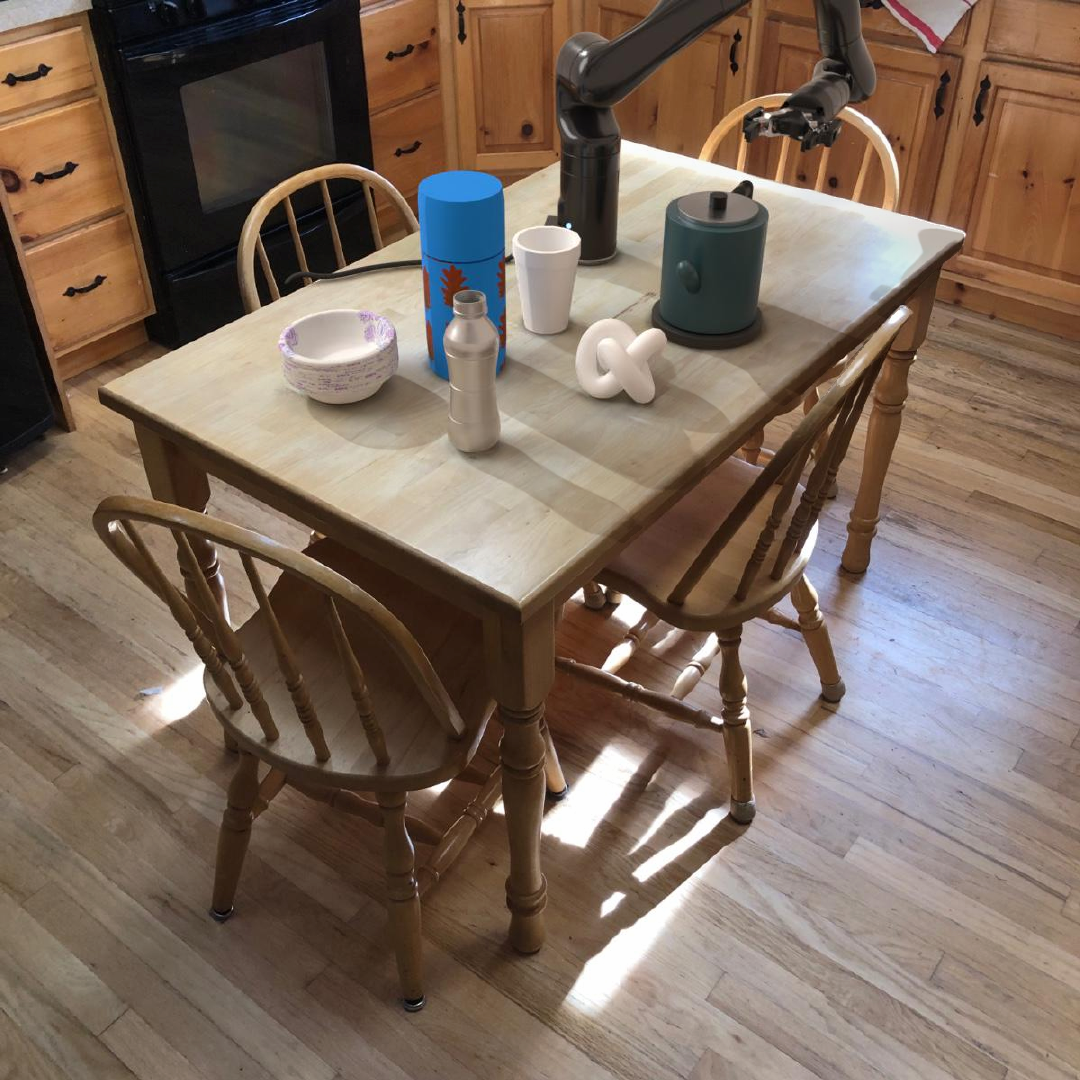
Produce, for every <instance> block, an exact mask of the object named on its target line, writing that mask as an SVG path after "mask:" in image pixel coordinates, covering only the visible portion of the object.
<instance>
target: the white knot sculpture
mask: <svg viewBox="0 0 1080 1080" xmlns="http://www.w3.org/2000/svg"><path fill="white" fill-rule="evenodd" d="M667 341H668V340H667V339H666V336H665V333H664V332H663V331H661V330H660V329H656V328H653V327H652V328H649V329H647V330H645V331H643V332H641V333H640V334H639V335H638V336H637V334H636V333H635V331H634V330H633V329H632V328H631V327H630V326H629V325H628V324H627V323H625V322H624V321H622V320H619V319H616V318H604V319H600V320H598V321H596V322H595V323H593V324H592V325H590V326H589V327H588V328H587V329H586V331H585V332H584V334H583V335H582V337H581V339H580V341H579V343H578V344H577V345H578V346H577V349H576V353H575V372H576V378H577V381H578V383H579V385H580V387H581V388H582V389H583V391H584V392H585V393H586V394H587V395H589V396H591V397H593V398H597V399H609V398H613V397H615V396H617V395H618V394H619V393H621V392H622V391H625V392H626V394H628V396H629V397H630V398H631V399H632V400H633V401H634V402H635V403H638V404H643V405H644V404H647V403H650V402H652V401H653V399H654V398H655V393H656V386H655V382H654V377H653V375H652V373H651V370H650V368H649V367H650V366H652V364H653V363H655V361H657V359H659V357H660V356H661V355H662V353H664V350H665V349H666V346H667ZM598 364H599V367H600V369H601V371H602V372H603V374H604V375H602V374H601V373H600V371H599V367H598Z"/></svg>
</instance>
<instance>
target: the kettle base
mask: <svg viewBox="0 0 1080 1080" xmlns="http://www.w3.org/2000/svg"><path fill="white" fill-rule="evenodd" d="M659 301H660V298H658V299H657V301H656V302H654V304H653V306H652V308H651V319H650V321H651V326H652V328H656V329H660V330H661V331H663V332H664V333H665V336H666V339H667V341H668V342H672V343H674V344H677V345H680V346H683V347H688V348H694V349H700V350H726V349H733V348H737V347H740V346H743V345H746V344H748V343H751V342H752V341H754V340H755V339H756V338H758V336H759V335H760V334H761V331H762V328H763V323H764V322H763V321H764V314H763V313H762V309H761V308H760V307H759V305H758V306H757V314H756V318H755V320H754V321H753V323H752V324H750V325H749V326H747V327H746V328H744V329H741V330H738V331H735V332H730V333H723V334H703V333H696V332H691V331H687V330H683V329H680V328H678V327H675V326H673V325H671V324H670V323H668V322H667V321H666V320H664V319H663V317H662V316H661V315H660V312H659Z"/></svg>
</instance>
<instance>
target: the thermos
mask: <svg viewBox="0 0 1080 1080" xmlns="http://www.w3.org/2000/svg"><path fill="white" fill-rule="evenodd" d="M503 187H504V186H503V184H502V181H501V180H500V179H499V178H497V177H496V176H494V175H492V174H490V173H489V174H488V173H485V172H481V171H474V170H451V171H445V172H444V171H443V172H439V173H435V174H431V175H430V176H428V177H426V178H424V179H422V180H421V182H420V183H419V185H418V192H417V206H418V224H419V238H420V239H419V240H420V241H419V242H420V255H421V260H422V265H421V270H422V271H421V272H422V285H423V286H422V287H423V288H422V289H423V305H424V321H425V337H426V344H427V353H428V362H429V369H430V370H431V371H432V372H433V374H435V375H436V376H438V377H440V378H441V379H444V380H448V381H450V379H449V370H448V364H447V359H446V354H445V348H444V342H443V338H444V334H445V330H446V329H447V327H448V325H449V324H450V322H451V321H452V320H453V318H454V317H455V316H456V315H455V314H454V313H453V306H454V304H453V297H454V295H455V294H456V293H458V292H460V291H465V290H476V291H480V292H482V293H484V294H485V296H486V305H487V313H486V314H485V315H486V316H487V317H488V318H489V319H490V320H491V321H492V323H493V324H494V325H495V327H496V328H497V331H498V334H499V337H500V341H499V350H498V357H497V364H496V375H498V374H499V373H500V372H502V371H503V369H504V367H505V365H506V357H507V285H506V284H507V283H506V279H507V278H506V277H507V276H506V263H505V257H506V220H505V219H506V213H505V212H506V210H505V208H506V207H505V195H504V188H503Z"/></svg>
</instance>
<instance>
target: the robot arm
mask: <svg viewBox="0 0 1080 1080" xmlns="http://www.w3.org/2000/svg"><path fill="white" fill-rule="evenodd" d="M753 1H754V0H658V2H657V4H656V5H655V6H654V8H653V9H652V10H651V11H650V13H649V14H648V15H646V16H645V18H643V19H642V20H640V21H639V22H638V23H637V24H636V25H634V26H632V27H631V28H629V29H628V30H626V31H625V32H624V33H621V34H620V35H618V36H617V37H615V38H613V39H611V40H609V39H607V38H605V37H603V35H601V34H598V33H596V32H592V31H581V32H578V33H575V34H573V35H572V36H570V37H569V38H567V40H566V41H565V42H564V43H563V45H562V46H561V48H560V50H559V52H558V54H557V58H556V62H555V69H554V94H555V97H554V98H555V121H556V126H557V130H558V134H559V141H560V148H559V152H560V154H559V159H560V161H559V166H560V167H559V197H558V199H557V206H556V208H557V209H556V210H557V212H556V215H551V214H549V215H547V217H546V220H545V222H544V224H543V226H557V227H562V228H567V229H569V230H571V231H573V232H576V233H577V234H578V236H579V237H580V239H581V255H580V257H579V260H578V265H583V266H592V265H593V266H594V265H603V264H605V263H609V262H610V261H612V260H614V259H615V258H616V256H617V254H618V248H617V245H618V243H617V242H618V221H619V220H618V219H619V198H620V197H619V196H620V174H621V155H622V154H621V153H622V131H621V127H620V126H619V124H618V121H617V119H616V117H615V114H614V108H613V107H614V106H617V104H619V103H621V102H622V101H624V100H625V99H626V98H627V97H629V95H631V94H632V93H633V92H635V90H637V88H638V87H640V86H641V85H642V84H643V83H644V82H645V81H647V80H648V79H649V78H650V77H651V76H652V75H654V73H656V72H657V71H658V70H660V68H661V67H663V66H664V65H665V64H666V63H667V62H669V61H670V60H671V59H672V58H674V57H676V56H677V55H678V54H680V53H681V52H683V51H685V50H686V49H687V48H689V47H690V46H691V45H693V44H694V43H695V42H697V41H698V40H700V39H701V38H702V37H703V36H705V35H706V34H708V33H709V32H711V31H712V30H714V29H715V28H717V27H718V26H720V25H722V24H723V23H725V22H726V21H728V20H729V19H730V18H732V17H733V16H735V15H737V13H738V12H740V11H741V10H743V9H744V8H745V7H746V6H748V5H749V4H751V3H752V2H753ZM812 3H813V11H814V23H815V31H816V32H815V33H816V41H817V47H818V51H819V53H820V54H821V55H822V56H823V57H825V58H824V59H821V60H819V61H818V62H817V63H816V64H815V66H814V67H813V70H812V74H811V80H810V81H809V82H806V83H804V84H803V85H802V86H800V87H799V88H797V90H795V91H794V92H793V93H792V94H791V95H789V96H788V97H787V98H786V99H785V100H784V101H783V102H782V104H781V106H780V108H779V109H777V110H773V111H769V112H765V106H762V105H758V106H755V107H754V108H753V109H751V110H750V111H748V112H747V113H745V114H744V115H743V119H742V128H741V132H742V133H743V134H744V135H743V138H744V140H745V142H746V143H747V144H752V143H753V142H755V141H756V139H758V138H760V137H761V136H766V137H767V138H774V137H780V136H782V137H787V138H790V139H791V140H793V141H796V142H799V143H800V142H801V143H800V153H804V154H806V153H808V151H811V150H813V149H814V148H817V147H820V145H823V147H825V148H832V147H833V146H834V144H835V143H836V142H837V141H838V140H839V138H840V137H841V131H842V125H843V119H842V118H837V117H838V116H839V114H841V113H842V112H843V111H844V109H845V108H846V107H847V105H862V104H865V103H866V102H868V101H869V100H870V99H871V98H872V96H873V95H874V93H875V90H876V86H877V71H876V67H875V64H874V61H873V59H872V57H871V54H870V52H869V50H868V47H867V45H866V43H865V42H866V41H865V40H864V37H863V30H862V16H861V14H862V13H861V4H860V0H812ZM761 127H763V128H762V129H761ZM513 260H515V259H514V257H513V251H512V252H511V254H509V255H507V256H505V264H507V263H509V262H511V261H513ZM413 266H422V259H409V260H397V261H389V262H383V263H376V264H369V265H365V266H359V267H356V268H352V269H346V270H343V271H337V272H331V273H317V272H312V271H299V272H298V271H297V272H295V273H292V274H291V275H290V276H289V277H288V278H287V279H286V280H285V282H284V284H287V285H289V284H292V283H293V282H294V281H296V280H299V279H301V278H308V279H314V280H326V281H327V280H334V279H341V278H345V277H349V276H354V275H358V274H362V273H366V272H372V271H378V270H384V269H385V270H386V269H393V268H401V267H402V268H403V267H413Z"/></svg>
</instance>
